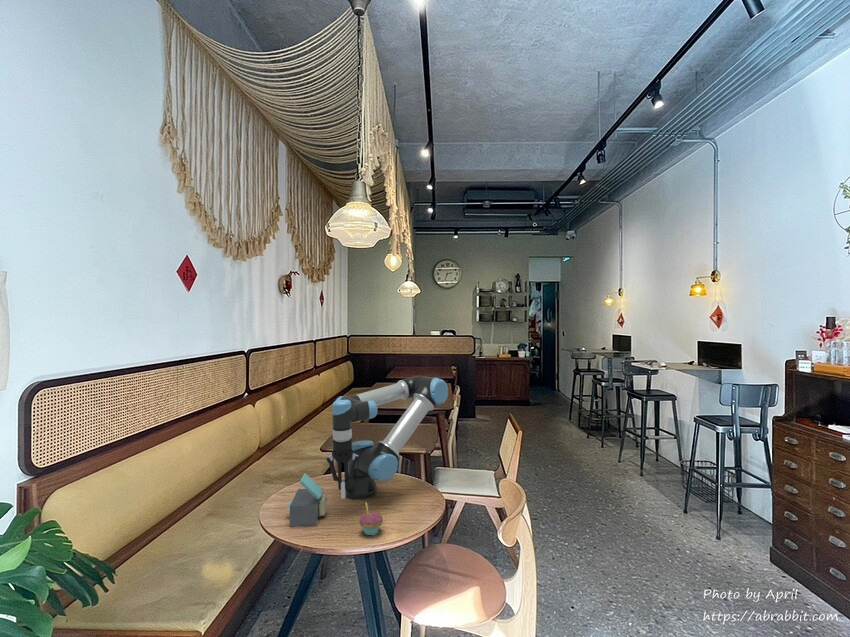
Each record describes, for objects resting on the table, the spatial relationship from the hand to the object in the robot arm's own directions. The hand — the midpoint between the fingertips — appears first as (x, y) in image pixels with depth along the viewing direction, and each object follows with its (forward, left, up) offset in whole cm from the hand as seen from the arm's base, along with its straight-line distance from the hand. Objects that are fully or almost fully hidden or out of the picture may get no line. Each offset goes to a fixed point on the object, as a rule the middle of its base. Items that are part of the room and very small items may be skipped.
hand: (343, 497), depth 173 cm
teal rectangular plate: (+13, 0, +5) cm, 14 cm away
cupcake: (-12, +15, -7) cm, 21 cm away
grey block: (+14, 0, -7) cm, 16 cm away
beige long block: (+14, 0, -6) cm, 15 cm away
